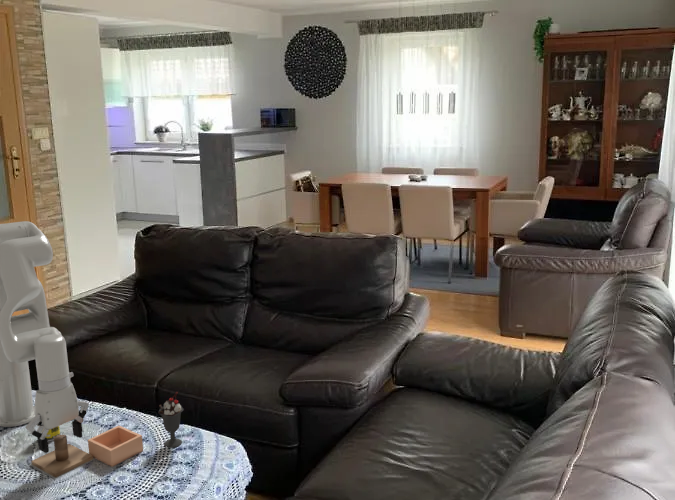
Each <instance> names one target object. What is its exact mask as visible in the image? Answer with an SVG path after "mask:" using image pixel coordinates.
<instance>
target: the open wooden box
mask: <svg viewBox="0 0 675 500" xmlns="http://www.w3.org/2000/svg"><path fill="white" fill-rule="evenodd" d="M143 443H144V442H143V435H142V434H140V433H138V432H136V431H133V430H131V429H128V428H125V427H124V426H121V425H117V426H114V427H112V428H111V429H108V430H106V431H103V432H102V433H100V434H97V435H95V436H93V437H90V438H89V439H88V440H87V444H88V453H89V454H91V455H93V458H95V460H97V461H100V462H101V463H104V464H105V465H107V466H109V467H111V468H113V467H115V466H117V465H120V464H121V463H123V462H125V461H126V460H128V459H130V458H132V457H134V456H137V455H138V454H140V453H142V452H144V446H143V445H144V444H143Z"/></svg>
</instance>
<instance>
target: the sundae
mask: <svg viewBox="0 0 675 500" xmlns="http://www.w3.org/2000/svg"><path fill="white" fill-rule="evenodd" d="M178 393H179V392H178V391H175V394H174V395H173V396H172V397H170V398H169V399H168V400H166V401H165V402H164V403H163V406H162V404H159V405H158V406H159V410H158V412H157V414H159V416H161V418H162V423H163V427H164V430H165V431H166V432H168V433H170V434H169V435H170V439H167V440H166V441H165V442H164V443H163V445H164V447H166V448H169V449H172V448H177V447H180V446H181V445H182V444H183V440H182V439H180V438H176V432H177V431H178V430H179V429H180V426H181V425H180V424H181V415H182V412H183V411H184V408H183V406H182V405H181V404H180V403H179V400H177V394H178ZM174 397H175V399H174Z"/></svg>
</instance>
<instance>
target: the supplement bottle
mask: <svg viewBox="0 0 675 500" xmlns="http://www.w3.org/2000/svg"><path fill="white" fill-rule="evenodd" d="M58 435H61V430H60V426H57V427H55V428H52V429H49V431H48V433H47V435H46V436H45V437H46V438H47V439H48V442H50V441H54V437H56V436H58Z"/></svg>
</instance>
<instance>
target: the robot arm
mask: <svg viewBox="0 0 675 500" xmlns="http://www.w3.org/2000/svg"><path fill="white" fill-rule="evenodd" d="M53 251H54V250H53V248H52V245H51V243H50V241H49V239H48V237H47V236H46V235H45V234H44V232H43V231H42V230H41V229H40V228H38V226H37V225H36V224H35V223H33V222H31V221H28V220H27V221H26V220H24V221H15V222H8V223H0V427H4V428H12V427H19V426H22V425H23V426H24V425H26V426H25V429H26V430H27V432H28V433H29V434H30V435H31V436H34V437H35V438H37V446H38V447H37V448H38V450H40V451H41V452H43V453H45V454H48V453H50V447H49V441H48V439H47V438H46V437H45V436H46V435H47V433H48V431H49V429H52V428H55V427H57V426H59V427H60V426H62V425H64V424H66V423H69V422H71V426H72V427H71V428H72V434H73V436H75V437H77V438H79V439H81V438H83V424H82V423H83V422H84V418H85V416H86V415H87V410H88V408H89V402H87V401H82V400H78V398H77V394H76V393H77V392H76V390H75V388H74V385H73V383H72V381H71V378H73V377H74V376H75V375H74V372H73V371H71V372H70V370H69V362H68V361H69V360H68V352H67V351H68V350H67V342H66V339H65V337H64V336H63V335H62V333H61V331H59V330H58V329H57V328H56V327H54V326H51V325H50V318H49V313H48V307H47V306H48V305H47V299H46V293H45V290H44V286H43V284H42V282H41V281H40V280H39V278H38V276H37V273H36V269H35V267H40V266H46V265H49V264H51V263H52V261H53V260H54V259H53V258H54V253H53ZM25 310H28V312H26V313H23V314H18V315H13V314H14V312H20V311H25ZM33 360H35V367H36V374H37V375H36V376H37V381H38V382H37V385H38V389H37V390H36V391H35V397H34V398H35V399H34V403H33V392H32V385H31V375H30V369H29V368H30V367H29V361H33ZM79 407H80V408H79ZM36 426H37V429H35V427H36Z"/></svg>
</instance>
